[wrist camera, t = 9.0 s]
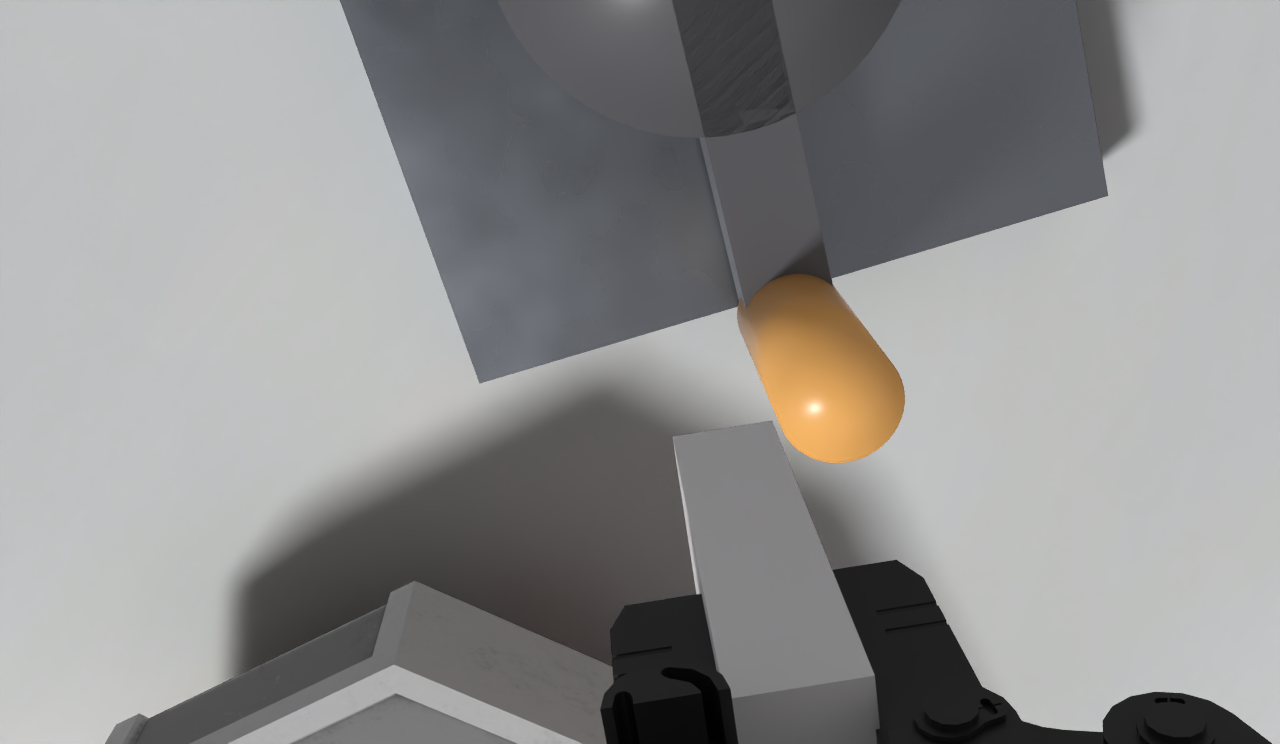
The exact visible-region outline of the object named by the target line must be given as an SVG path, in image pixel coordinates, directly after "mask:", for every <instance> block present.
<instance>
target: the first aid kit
mask: <svg viewBox="0 0 1280 744" xmlns="http://www.w3.org/2000/svg"><path fill="white" fill-rule="evenodd" d="M613 681H614V680H613V669H612V666H610V665H607V664H605V663H603V662H601V661H598V660H596V659H594V658H591V657H589V656H587V655H584V654H582V653H580V652H578V651H575V650H573V649H571V648H568V647H566V646H564V645H561V644H559V643H557V642H555V641H552V640H550V639H548V638H545V637H543V636H541V635H539V634H536V633H534V632H532V631H529V630H527V629H525V628H522V627H520V626H518V625H516V624H513V623H511V622H509V621H506V620H504V619H502V618H500V617H497V616H495V615H493V614H490V613H488V612H486V611H483V610H481V609H479V608H477V607H474V606H472V605H470V604H467V603H465V602H463V601H460V600H458V599H456V598H454V597H451V596H449V595H447V594H444V593H442V592H440V591H438V590H435V589H433V588H431V587H428V586H426V585H424V584H421V583H419V582H417V581H413V582H411V583H409V584H407V585H405V586H403V587H401V588H399V589H397V590H394V591H392V592H390V595H389V599H388V602H387V604H386V605H384V606H381V607H379V608H377V609H375V610H373V611H371V612H369V613H367V614H365V615H363V616H361V617H359V618H357V619H355V620H352V621H350V622H348V623H346V624H344V625H342V626H340V627H338V628H336V629H334V630H332V631H330V632H328V633H325V634H323V635H321V636H319V637H317V638H315V639H313V640H311V641H309V642H307V643H305V644H303V645H301V646H298V647H296V648H294V649H292V650H290V651H288V652H286V653H284V654H282V655H280V656H278V657H276V658H274V659H271V660H269V661H267V662H265V663H263V664H261V665H259V666H257V667H255V668H253V669H251V670H249V671H247V672H244V673H242V674H240V675H238V676H236V677H234V678H232V679H230V680H228V681H226V682H224V683H222V684H220V685H217V686H215V687H213V688H211V689H209V690H207V691H205V692H203V693H201V694H199V695H197V696H195V697H193V698H191V699H188V700H186V701H184V702H182V703H180V704H178V705H176V706H174V707H172V708H170V709H168V710H166V711H164V712H161V713H159V714H157V715H155V716H153V717H151V718H147V717H145V716H143V715H141V714H138V715H136V716H133V717H131V718H129V719H127V720H125V721H123V722H121V723H119V724H117V725H116V726H115V728H114V729H113V731H112V733H111V734H110V736H109V738H108V739H107V741H106V743H105V744H607V743H606V738H605V733H604V727H603V722H602V717H601V712H600V708H601V704H602V700H603V696H604V693H605V692H606V691H607V690H608V689H609V688H610V687H611V685H612V684H613Z"/></svg>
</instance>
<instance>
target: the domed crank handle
mask: <svg viewBox="0 0 1280 744" xmlns="http://www.w3.org/2000/svg"><path fill="white" fill-rule="evenodd" d="M497 2H498V4H499V6H500V8H501V10H502V12H503V14H504V16H505V17H506V19H507V21H508V23H509V25H510V27H511V29H512V31H513V32H514V33H515V35H516V36H517V38H518V39H519V41H520V42H521V44H522V45H523V47H524V48H525V50H526V51H527V53H528V54H529V55H530V56H531V57H532V58H533V60H534V61H535V62H536V63H537V64H538V65H539V66H540V68H541V69H542V70H543V71H544V72H545V73H546V74H547V75H548V76H549V77H550V78H551V79H552V80H553V81H554V82H556V83H557V84H558V85H559V86H560V87H561V88H562V89H563V90H565V91H566V92H567V93H568V94H570V95H571V96H572V97H574V98H575V99H577V100H578V101H580V102H581V103H583V104H584V105H586V106H587V107H589V108H590V109H592V110H594V111H596V112H598V113H600V114H602V115H604V116H606V117H608V118H610V119H612V120H614V121H616V122H619V123H621V124H624V125H627V126H630V127H633V128H636V129H639V130H642V131H646V132H651V133H656V134H661V135H666V136H674V137H689V138H700V142H701V147H702V151H703V155H704V159H705V163H706V167H707V171H708V176H709V180H710V184H711V188H712V192H713V196H714V200H715V205H716V209H717V213H718V217H719V221H720V225H721V229H722V234H723V238H724V242H725V246H726V250H727V254H728V258H729V262H730V267H731V271H732V275H733V279H734V283H735V287H736V291H737V296H738V300H739V304H738V311H737V320H738V326H739V329H740V332H741V334H742V337H743V339H744V341H745V344H746V346H747V348H748V351H749V353H750V355H751V358H752V360H753V362H754V365H755V367H756V370H757V372H758V374H759V377H760V379H761V381H762V384H763V386H764V388H765V391H766V393H767V395H768V398H769V400H770V402H771V405H772V407H773V409H774V412H775V414H776V416H777V419H778V421H779V423H780V426H781V428H782V430H783V432H784V434H785V436H786V437H787V439H788V440H789V442H790V443H791V444H792V445H793V446H794V447H795V448H796V449H798V450H799V451H800V452H802V453H803V454H805V455H806V456H808V457H811V458H813V459H816V460H819V461H823V462H829V463H844V462H850V461H855V460H858V459H861V458H863V457H865V456H868V455H870V454H871V453H873V452H875V451H876V450H877V449H879V448H880V447H881V446H883V445H884V444H885V443H886V442H887V441H888V440H889V438H890V437H891V436H892V435H893V433H894V432H895V430H896V428H897V427H898V425H899V423H900V420H901V418H902V414H903V411H904V404H905V394H904V387H903V383H902V380H901V378H900V375H899V373H898V371H897V370H896V368H895V367H894V365H893V364H892V363H891V361H890V360H889V359H888V357H887V356H886V355H885V353H884V352H883V351H882V349H881V348H880V347H879V345H878V344H877V343H876V341H875V340H874V339H873V337H872V336H871V335H870V333H869V332H868V331H867V330H866V328H865V327H864V326H863V324H862V323H861V322H860V320H859V319H858V318H857V316H856V315H855V314H854V312H853V311H852V310H851V308H850V307H849V306H848V304H847V303H846V302H845V300H844V299H843V298H842V296H841V295H840V294H839V292H838V291H837V290H836V288H835V287H834V286H833V284H832V279H831V275H830V270H829V265H828V261H827V256H826V251H825V247H824V242H823V237H822V233H821V228H820V223H819V218H818V214H817V209H816V204H815V200H814V195H813V190H812V186H811V181H810V176H809V172H808V167H807V162H806V157H805V153H804V148H803V143H802V139H801V134H800V129H799V125H798V120H797V115H796V113H797V112H799V111H801V110H803V109H805V108H806V107H808V106H809V105H811V104H812V103H814V102H815V101H817V100H818V99H820V98H821V97H823V96H824V95H826V94H827V93H829V92H830V91H831V90H832V89H833V88H834V87H836V86H837V85H838V84H839V83H840V82H841V81H843V80H844V79H845V78H846V77H847V76H848V75H849V74H850V73H851V72H852V71H853V70H854V69H855V68H856V67H857V66H858V65H859V63H860V62H861V61H862V60H863V59H864V58H865V57H866V56H867V55H868V54H869V52H870V51H871V49H872V48H873V47H874V45H875V44H876V42H877V41H878V40H879V38H880V37H881V35H882V34H883V32H884V31H885V30H886V28H887V26H888V24H889V22H890V20H891V19H892V17H893V15H894V13H895V11H896V9H897V8H898V6H899V4H900V2H901V0H497Z"/></svg>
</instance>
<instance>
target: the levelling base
mask: <svg viewBox="0 0 1280 744" xmlns="http://www.w3.org/2000/svg"><path fill="white" fill-rule="evenodd" d="M340 2H341V5H342V7H343V10H344V13H345V16H346V18H347V21H348V24H349V26H350V29H351V32H352V35H353V37H354V40H355V43H356V46H357V48H358V51H359V54H360V57H361V59H362V62H363V65H364V68H365V70H366V73H367V76H368V79H369V81H370V84H371V87H372V90H373V92H374V95H375V98H376V101H377V103H378V106H379V109H380V111H381V114H382V117H383V120H384V122H385V125H386V128H387V131H388V133H389V136H390V139H391V142H392V144H393V147H394V150H395V153H396V155H397V158H398V161H399V164H400V166H401V169H402V172H403V175H404V177H405V180H406V183H407V185H408V188H409V191H410V194H411V196H412V199H413V202H414V205H415V207H416V210H417V213H418V216H419V218H420V221H421V224H422V227H423V229H424V232H425V235H426V238H427V240H428V243H429V246H430V249H431V251H432V254H433V257H434V259H435V262H436V265H437V268H438V270H439V273H440V276H441V279H442V281H443V284H444V287H445V290H446V292H447V295H448V298H449V301H450V303H451V306H452V309H453V312H454V314H455V317H456V320H457V323H458V325H459V328H460V331H461V334H462V336H463V339H464V342H465V344H466V347H467V350H468V353H469V355H470V358H471V361H472V364H473V366H474V369H475V372H476V375H477V377H478V380H479V383H483V382H486V381H489V380H493V379H496V378H500V377H503V376H506V375H510V374H513V373H516V372H520V371H523V370H526V369H530V368H533V367H536V366H540V365H543V364H546V363H550V362H553V361H556V360H560V359H563V358H566V357H570V356H573V355H577V354H580V353H583V352H587V351H590V350H593V349H597V348H600V347H603V346H607V345H610V344H613V343H617V342H620V341H623V340H627V339H630V338H633V337H637V336H640V335H644V334H647V333H650V332H654V331H657V330H660V329H664V328H667V327H670V326H674V325H677V324H680V323H684V322H687V321H690V320H694V319H697V318H700V317H704V316H707V315H711V314H714V313H717V312H721V311H724V310H727V309H731V308H734V307H737V306H738V304H739V300H738V296H737V291H736V287H735V283H734V279H733V275H732V271H731V267H730V262H729V258H728V254H727V250H726V246H725V242H724V238H723V234H722V229H721V225H720V221H719V217H718V213H717V209H716V205H715V200H714V196H713V192H712V188H711V184H710V180H709V176H708V171H707V167H706V163H705V159H704V155H703V151H702V147H701V142H700V138H689V137H674V136H666V135H661V134H656V133H651V132H646V131H642V130H639V129H636V128H633V127H630V126H627V125H624V124H621V123H619V122H616V121H614V120H612V119H610V118H608V117H606V116H604V115H602V114H600V113H598V112H596V111H594V110H592V109H590V108H589V107H587V106H586V105H584V104H583V103H581V102H580V101H578V100H577V99H575V98H574V97H572V96H571V95H570V94H568V93H567V92H566V91H565V90H563V89H562V88H561V87H560V86H559V85H558V84H557V83H556V82H554V81H553V80H552V79H551V78H550V77H549V76H548V75H547V74H546V73H545V72H544V71H543V70H542V69H541V68H540V66H539V65H538V64H537V63H536V62H535V61H534V60H533V58H532V57H531V56H530V55H529V54H528V53H527V51H526V50H525V48H524V47H523V45H522V44H521V42H520V41H519V39H518V38H517V36H516V35H515V33H514V32H513V31H512V29H511V27H510V25H509V23H508V21H507V19H506V17H505V16H504V14H503V12H502V10H501V8H500V6H499V4H498V2H497V0H340ZM796 115H797V120H798V125H799V129H800V134H801V139H802V143H803V148H804V153H805V157H806V162H807V167H808V172H809V176H810V181H811V186H812V190H813V195H814V200H815V204H816V209H817V214H818V218H819V223H820V228H821V233H822V237H823V242H824V247H825V251H826V256H827V261H828V265H829V270H830V275H831V278H834V277H838V276H841V275H844V274H848V273H851V272H855V271H858V270H861V269H865V268H868V267H871V266H875V265H878V264H881V263H885V262H888V261H891V260H895V259H898V258H901V257H905V256H908V255H911V254H915V253H918V252H921V251H925V250H928V249H932V248H935V247H938V246H942V245H945V244H948V243H952V242H955V241H958V240H962V239H965V238H968V237H972V236H975V235H978V234H982V233H985V232H988V231H992V230H995V229H999V228H1002V227H1005V226H1009V225H1012V224H1015V223H1019V222H1022V221H1025V220H1029V219H1032V218H1035V217H1039V216H1042V215H1045V214H1049V213H1052V212H1055V211H1059V210H1062V209H1066V208H1069V207H1072V206H1076V205H1079V204H1082V203H1086V202H1089V201H1092V200H1096V199H1099V198H1102V197H1106V196H1108V192H1107V186H1106V180H1105V174H1104V168H1103V162H1102V156H1101V150H1100V144H1099V138H1098V132H1097V126H1096V120H1095V114H1094V108H1093V102H1092V96H1091V90H1090V84H1089V78H1088V72H1087V66H1086V60H1085V54H1084V48H1083V42H1082V36H1081V30H1080V24H1079V18H1078V12H1077V6H1076V0H901V2H900V4H899V6H898V8H897V9H896V11H895V13H894V15H893V17H892V19H891V20H890V22H889V24H888V26H887V28H886V30H885V31H884V32H883V34H882V35H881V37H880V38H879V40H878V41H877V42H876V44H875V45H874V47H873V48H872V49H871V51H870V52H869V54H868V55H867V56H866V57H865V58H864V59H863V60H862V61H861V62H860V63H859V65H858V66H857V67H856V68H855V69H854V70H853V71H852V72H851V73H850V74H849V75H848V76H847V77H846V78H845V79H844V80H843V81H841V82H840V83H839V84H838V85H837V86H836V87H834V88H833V89H832V90H831V91H830V92H829V93H827V94H826V95H824V96H823V97H821V98H820V99H818V100H817V101H815V102H814V103H812V104H811V105H809V106H808V107H806V108H805V109H803V110H801V111H799V112H797V113H796Z"/></svg>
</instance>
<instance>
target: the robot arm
mask: <svg viewBox="0 0 1280 744" xmlns="http://www.w3.org/2000/svg"><path fill="white" fill-rule="evenodd" d="M672 437H673V443H674V450H675V456H676V463H677V470H678V476H679V483H680V489H681V496H682V502H683V509H684V516H685V522H686V529H687V535H688V542H689V548H690V555H691V562H692V568H693V575H694V581H695V588H696V595H690V596H684V597H677V598H671V599H665V600H658V601H652V602H646V603H640V604H633V605H627V606H625V607H624V608H623V610H622V612H621V613H620V615H619V617H618V618H617V620H616V622H615V623H614V625H613V627H612V628H611V630H610V634H611V651H612V669H613V680H614V681H613V684H612V685H611V687H610V688H609V689H608V690H607V691H606V692H605V693H604V696H603V700H602V704H601V708H600V712H601V717H602V722H603V727H604V733H605V738H606V743H607V744H1272V743H1271V742H1269V741H1268V740H1267V739H1265V738H1264V737H1263V736H1261V735H1260V734H1259V733H1258V732H1256V731H1255V730H1254V729H1252V728H1251V727H1250V726H1248V725H1247V724H1246V723H1244V722H1243V721H1242V720H1240V719H1239V718H1238V717H1237V716H1235V715H1234V714H1233V713H1231V712H1229V711H1227V710H1226V709H1224V708H1222V707H1220V706H1218V705H1216V704H1215V703H1213V702H1211V701H1209V700H1205V699H1202V698H1198V697H1194V696H1191V695H1187V694H1183V693H1166V692H1152V693H1147V694H1141V695H1136V696H1131V697H1129V698H1127V699H1125V700H1123V701H1121V702H1120V703H1118V704H1116V705H1114V706H1112V708H1111V709H1110V711H1109V712H1108V714H1107V715H1106V717H1105V718H1104V720H1103V732H1089V731H1072V730H1060V729H1053V728H1046V727H1041V726H1037V725H1034V724H1030V723H1027V722H1023V721H1021V719H1020V717H1019V716H1018V714H1017V712H1016V711H1015V710H1014V709H1013V707H1012V706H1011V705H1010V704H1009V703H1008V702H1007V701H1006V700H1005V699H1004V698H1003V697H1001V696H999V695H997V694H995V693H993V692H991V691H989V690H987V689H985V688H983V687H982V686H981V684H980V682H979V680H978V678H977V677H976V675H975V673H974V671H973V669H972V667H971V665H970V663H969V662H968V660H967V658H966V656H965V654H964V652H963V650H962V649H961V647H960V645H959V643H958V641H957V639H956V637H955V636H954V634H953V632H952V630H951V628H950V626H949V625H947V623H946V619H945V617H944V615H943V613H942V611H941V610H940V608H939V606H937V604H936V600H935V598H934V597H933V595H932V593H931V591H930V589H929V587H928V585H927V584H926V582H925V580H924V578H923V577H922V576H920V575H918V574H917V573H915V572H914V571H912V570H911V569H909V568H908V567H906V566H905V565H903V564H902V563H900V562H899V561H897V560H893V561H886V562H880V563H874V564H867V565H861V566H855V567H848V568H842V569H836V570H832V568H831V566H830V563H829V561H828V558H827V556H826V554H825V551H824V549H823V546H822V544H821V541H820V539H819V536H818V534H817V531H816V529H815V526H814V524H813V521H812V519H811V516H810V514H809V511H808V509H807V506H806V504H805V502H804V499H803V497H802V494H801V492H800V489H799V487H798V484H797V482H796V479H795V477H794V474H793V472H792V469H791V467H790V464H789V462H788V459H787V457H786V455H785V452H784V450H783V447H782V445H781V442H780V440H779V437H778V435H777V432H776V430H775V427H774V425H773V422H772V421H767V422H761V423H754V424H748V425H742V426H735V427H729V428H723V429H717V430H710V431H704V432H698V433H691V434H685V435H679V436H672Z"/></svg>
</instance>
